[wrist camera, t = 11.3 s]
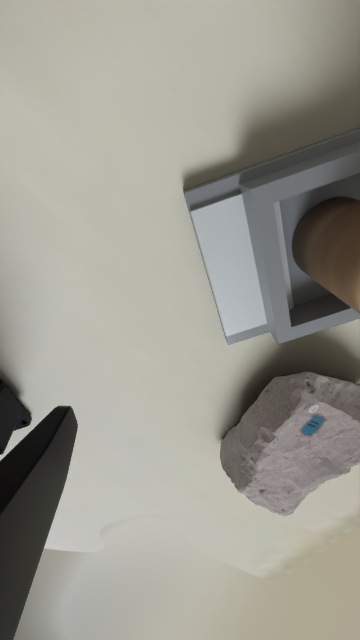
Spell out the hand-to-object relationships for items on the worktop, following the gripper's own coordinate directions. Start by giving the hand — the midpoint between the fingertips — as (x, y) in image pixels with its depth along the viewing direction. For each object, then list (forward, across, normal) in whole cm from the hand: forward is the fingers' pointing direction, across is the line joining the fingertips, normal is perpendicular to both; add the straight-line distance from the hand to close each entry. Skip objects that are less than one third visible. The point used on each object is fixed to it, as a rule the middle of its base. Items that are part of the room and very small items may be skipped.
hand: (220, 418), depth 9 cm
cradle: (+14, -8, 0) cm, 16 cm away
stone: (+13, -7, +16) cm, 22 cm away
